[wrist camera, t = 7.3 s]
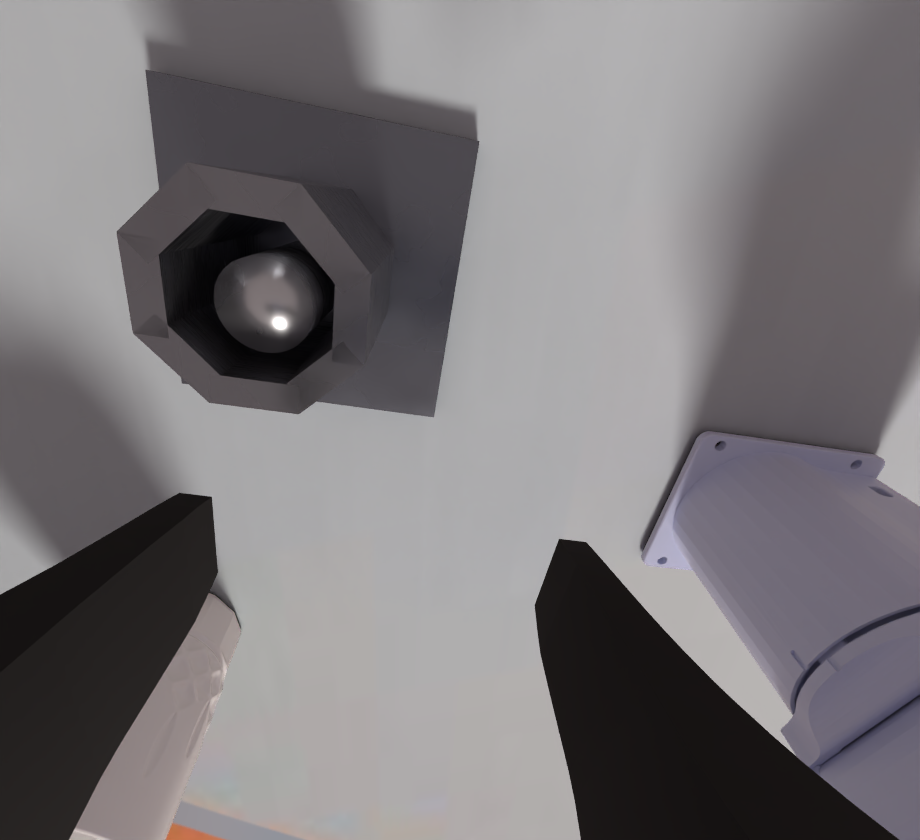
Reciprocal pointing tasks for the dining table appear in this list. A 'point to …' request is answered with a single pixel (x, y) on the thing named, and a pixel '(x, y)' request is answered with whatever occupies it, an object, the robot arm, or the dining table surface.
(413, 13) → the dining table surface
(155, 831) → the white cup
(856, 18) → the dining table surface
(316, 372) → the tube
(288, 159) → the post
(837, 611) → the robot arm
